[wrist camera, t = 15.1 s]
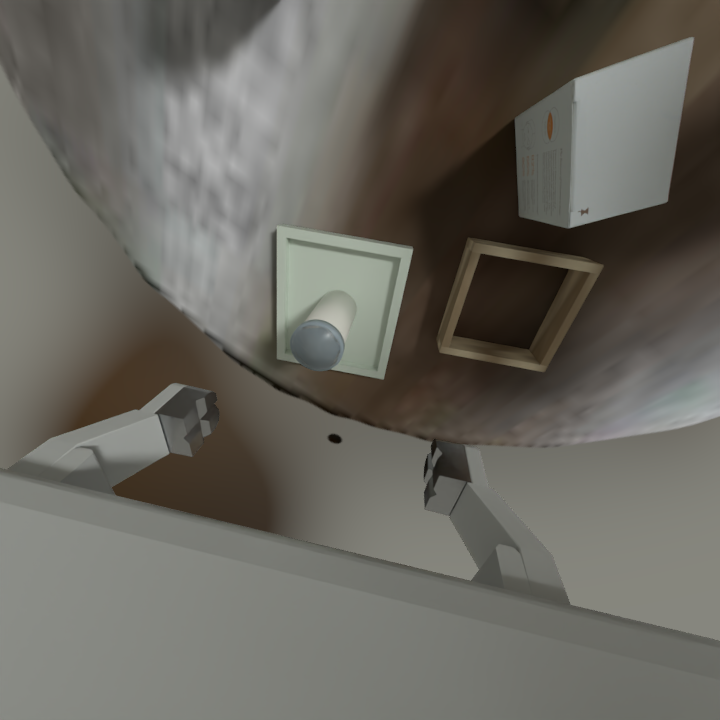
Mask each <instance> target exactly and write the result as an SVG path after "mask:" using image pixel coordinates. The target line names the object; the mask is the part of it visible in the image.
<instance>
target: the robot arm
mask: <svg viewBox="0 0 720 720" xmlns="http://www.w3.org/2000/svg"><path fill="white" fill-rule="evenodd" d="M216 401H217V397H216V393H214V392H213V391H209V390H204V389H200V388H196V387H192V386H186V385H182V384H178V383H174V384H171V385H169V386H168V387H167V388H166V389H164V390H163V391H162V392H161V393H160V394H158V395H157V396H156V397H155V398H154V399H153V400H151V401H150V402H149V403H148V404H146V405H145V406H144V407H143V408H142V409H140V410H132V411H129V412H127V413H124V414H121V415H118V416H115V417H112V418H109V419H106V420H104V421H101V422H98V423H95V424H92V425H89V426H86V427H83V428H80V429H77V430H74V431H72V432H68V433H65V434H63V435H60V436H57V437H54V438H51V439H49V440H48V441H46V442H45V443H43V444H42V445H41V446H39V447H38V448H36V449H35V450H33V451H32V452H31V453H29V454H28V455H26V456H25V457H24V458H22V459H21V460H19V461H18V462H16V463H15V464H14V465H12V466H11V467H9V468H8V469H2V468H0V720H720V641H718V640H714V639H711V638H707V637H702V636H698V635H694V634H690V633H686V632H682V631H678V630H673V629H669V628H665V627H661V626H656V625H653V624H648V623H644V622H640V621H636V620H631V619H628V618H623V617H619V616H615V615H611V614H607V613H603V612H598V611H594V610H590V609H585V608H581V607H577V606H573V605H570V602H569V599H568V596H567V594H566V591H565V588H564V585H563V583H562V580H561V577H560V575H559V572H558V569H557V567H556V564H555V561H554V558H553V556H552V554H551V553H550V552H549V551H548V550H547V549H546V547H545V546H544V545H543V544H542V543H541V542H540V541H539V539H538V538H537V537H536V536H535V535H534V534H533V533H532V532H531V530H530V529H529V528H528V527H527V526H526V525H525V524H524V522H523V521H522V520H521V519H520V518H519V517H518V516H517V514H516V513H515V512H514V511H513V510H512V509H511V508H510V507H509V505H508V504H507V503H506V502H505V501H504V500H503V499H502V497H500V495H499V494H498V493H497V492H496V491H495V490H494V488H490V487H489V486H488V482H487V478H486V474H485V470H484V466H483V462H482V458H481V454H480V450H479V448H478V447H475V446H470V445H465V444H460V443H455V442H450V441H445V440H440V439H434V440H433V442H432V444H431V453H429V454H428V455H427V458H426V461H425V466H424V482H425V483H426V485H427V486H426V488H425V491H424V503H425V510H428V511H432V512H436V513H440V514H444V515H448V516H450V519H451V521H452V523H453V525H454V526H455V528H456V530H457V531H458V533H459V535H460V537H461V538H462V540H463V542H464V544H465V546H466V547H467V549H468V551H469V552H470V554H471V556H472V558H473V560H474V561H475V563H476V565H477V567H478V568H479V571H478V572H477V573H476V575H475V576H474V577H473V579H472V580H471V581H469V580H465V579H461V578H457V577H453V576H448V575H444V574H440V573H436V572H432V571H428V570H423V569H419V568H415V567H411V566H407V565H402V564H398V563H394V562H390V561H386V560H382V559H378V558H373V557H369V556H365V555H361V554H356V553H353V552H348V551H344V550H340V549H336V548H332V547H328V546H323V545H319V544H315V543H311V542H307V541H302V540H298V539H294V538H290V537H286V536H282V535H277V534H273V533H269V532H265V531H261V530H257V529H252V528H248V527H244V526H239V525H236V524H231V523H227V522H223V521H219V520H215V519H210V518H206V517H202V516H198V515H194V514H190V513H185V512H181V511H177V510H173V509H169V508H165V507H160V506H157V505H152V504H148V503H144V502H140V501H136V500H132V499H127V498H123V497H119V496H116V495H115V494H114V492H113V490H112V488H111V487H112V486H114V485H116V484H117V483H119V482H121V481H123V480H124V479H126V478H128V477H130V476H131V475H133V474H135V473H137V472H138V471H140V470H142V469H144V468H145V467H147V466H149V465H151V464H152V463H154V462H156V461H157V460H159V459H161V458H163V457H164V456H166V455H168V454H169V452H171V453H176V454H181V455H186V456H191V457H193V456H194V454H195V453H196V452H197V451H198V449H199V448H200V447H201V446H202V444H203V443H204V438H203V437H205V436H207V435H209V434H211V433H212V432H213V431H214V429H215V428H216V426H217V423H218V421H219V409H218V408H217V407H216V405H215V404H214V403H215V402H216Z"/></svg>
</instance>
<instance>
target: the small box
mask: <svg viewBox="0 0 720 720" xmlns="http://www.w3.org/2000/svg"><path fill="white" fill-rule="evenodd" d="M693 43H694V37H690V38H687V39H684V40H681V41H678V42H675V43H672V44H670V45H667V46H664V47H661V48H658V49H656V50H653V51H650V52H647V53H644V54H642V55H639V56H636V57H633V58H630V59H628V60H625V61H622V62H619V63H616V64H614V65H611V66H608V67H605V68H603V69H600V70H597V71H594V72H592V73H589V74H586V75H584V76H581V77H578V78H575V79H573V80H572V81H570V82H569V83H567V84H566V85H564V86H563V87H561V88H560V89H558V90H557V91H555V92H554V93H552V94H551V95H549V96H547V97H546V98H544V99H543V100H541V101H540V102H538V103H537V104H535V105H534V106H532V107H531V108H529V109H528V110H526V111H525V112H523V113H522V114H520V115H519V116H517V117H516V118H515V137H516V160H517V184H518V206H519V217H522V218H527V219H531V220H535V221H539V222H543V223H547V224H551V225H555V226H559V227H563V228H573V227H576V226H580V225H584V224H588V223H592V222H595V221H599V220H603V219H606V218H610V217H614V216H618V215H622V214H625V213H629V212H633V211H637V210H641V209H644V208H648V207H652V206H656V205H660V204H664V203H666V202H668V198H669V191H670V185H671V179H672V173H673V166H674V160H675V154H676V147H677V141H678V134H679V128H680V123H681V116H682V110H683V103H684V97H685V91H686V86H687V79H688V73H689V67H690V61H691V55H692V49H693Z"/></svg>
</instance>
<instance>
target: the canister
mask: <svg viewBox="0 0 720 720" xmlns="http://www.w3.org/2000/svg"><path fill="white" fill-rule="evenodd" d="M356 312H357V307H356V303H355V301H354V299H353V298H352V297H351V296H350V295H349V294H348V293H346V292H344V291H340V290H333V291H330V292H328V293H326V294H325V295H324V296H323V298H322V299H321V300H320V302H319V303H318V304H317V306H316V307H315V308H314V310H313V311H312V312H311V314H310V315H309V316H308V318H307V319H306V320H305V322H303V323H301V324H300V325H299V326H298V327H297V328H296V330H295V331H294V332H293V334H292V336H291V339H290V348H291V351H292V354H293V356H294V357H295V359H296V360H297V361H298V362H299V363H300V364H301V365H303V366H304V367H306V368H308V369H311V370H314V371H326V370H329V369H332V368H334V367H335V366H336V365H337V364H338V363H339V362H340V360H341V358H342V356H343V353H344V349H345V342H346V339H347V337H348V334H349V331H350V329H351V326H352V324H353V321H354V318H355V316H356Z"/></svg>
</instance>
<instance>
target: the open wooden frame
mask: <svg viewBox="0 0 720 720" xmlns="http://www.w3.org/2000/svg"><path fill="white" fill-rule="evenodd" d="M480 254H487V255H493V256H498V257H504V258H510V259H515V260H521V261H527V262H532V263H538V264H544V265H549V266H555V267H561V268H567V269H569V271H568V273H567V275H566V277H565V279H564V281H563V283H562V285H561V287H560V289H559V291H558V293H557V295H556V297H555V299H554V300H553V302H552V304H551V306H550V308H549V310H548V312H547V314H546V316H545V318H544V320H543V322H542V324H541V326H540V328H539V330H538V332H537V334H536V336H535V338H534V340H533V342H532V344H531V346H530V348H529V350H528V349H523V348H517V347H512V346H507V345H501V344H496V343H490V342H485V341H480V340H474V339H469V338H464V337H458V336H453V333H454V330H455V327H456V325H457V322H458V319H459V316H460V313H461V310H462V307H463V304H464V301H465V298H466V295H467V292H468V289H469V286H470V284H471V281H472V278H473V275H474V272H475V269H476V266H477V263H478V260H479V257H480ZM603 267H604V265H602V264H600V263H597V262H595V261H592V260H590V259H587V258H585V257H579V256H574V255H568V254H562V253H557V252H551V251H545V250H539V249H534V248H528V247H522V246H516V245H511V244H505V243H499V242H493V241H488V240H482V239H476V238H470V237H468V239H467V242H466V245H465V248H464V251H463V255H462V258H461V261H460V264H459V268H458V271H457V274H456V277H455V280H454V284H453V287H452V290H451V293H450V296H449V300H448V303H447V306H446V309H445V312H444V316H443V319H442V322H441V325H440V329H439V332H438V335H437V338H436V340H437V344H438V349H439V353H444V354H449V355H455V356H460V357H465V358H471V359H476V360H481V361H487V362H492V363H497V364H503V365H508V366H513V367H519V368H524V369H529V370H534V371H540V372H545V370H546V369H547V367H548V365H549V363H550V362H551V360H552V358H553V356H554V354H555V353H556V351H557V349H558V347H559V345H560V344H561V342H562V340H563V338H564V337H565V335H566V333H567V331H568V329H569V328H570V326H571V324H572V322H573V320H574V319H575V317H576V315H577V313H578V312H579V310H580V308H581V306H582V304H583V303H584V301H585V299H586V297H587V295H588V294H589V292H590V290H591V288H592V287H593V285H594V283H595V281H596V279H597V278H598V276H599V274H600V272H601V270H602V269H603Z"/></svg>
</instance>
